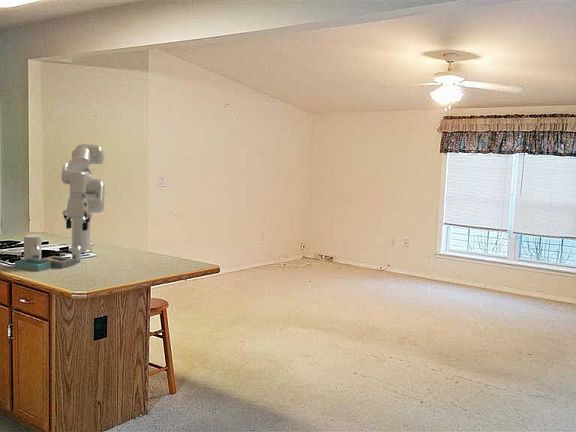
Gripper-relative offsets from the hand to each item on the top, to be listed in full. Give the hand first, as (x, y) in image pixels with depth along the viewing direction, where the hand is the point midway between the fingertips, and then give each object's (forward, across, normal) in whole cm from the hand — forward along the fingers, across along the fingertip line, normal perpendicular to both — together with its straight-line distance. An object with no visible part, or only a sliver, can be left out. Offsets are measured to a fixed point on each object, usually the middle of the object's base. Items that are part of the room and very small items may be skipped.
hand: (76, 229), depth 281 cm
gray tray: (+17, +3, +10) cm, 20 cm away
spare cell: (+17, +15, +12) cm, 26 cm away
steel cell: (+17, 0, 0) cm, 17 cm away
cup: (+17, +22, +6) cm, 29 cm away
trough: (+17, +8, +20) cm, 28 cm away
